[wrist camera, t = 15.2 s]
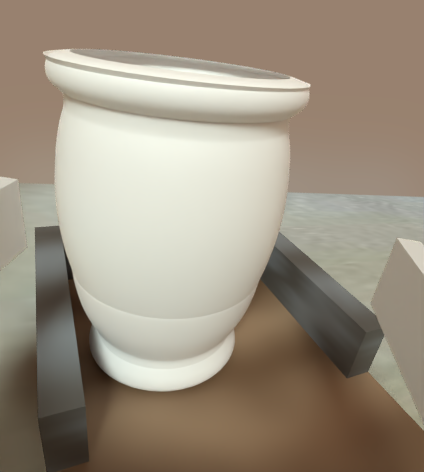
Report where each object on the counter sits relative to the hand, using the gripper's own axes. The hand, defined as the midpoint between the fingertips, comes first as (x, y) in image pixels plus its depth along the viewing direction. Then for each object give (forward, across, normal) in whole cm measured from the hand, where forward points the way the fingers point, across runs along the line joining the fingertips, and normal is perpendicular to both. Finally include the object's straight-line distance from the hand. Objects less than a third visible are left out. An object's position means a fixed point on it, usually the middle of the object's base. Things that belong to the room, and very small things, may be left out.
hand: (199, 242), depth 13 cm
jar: (+5, -2, -10) cm, 11 cm away
